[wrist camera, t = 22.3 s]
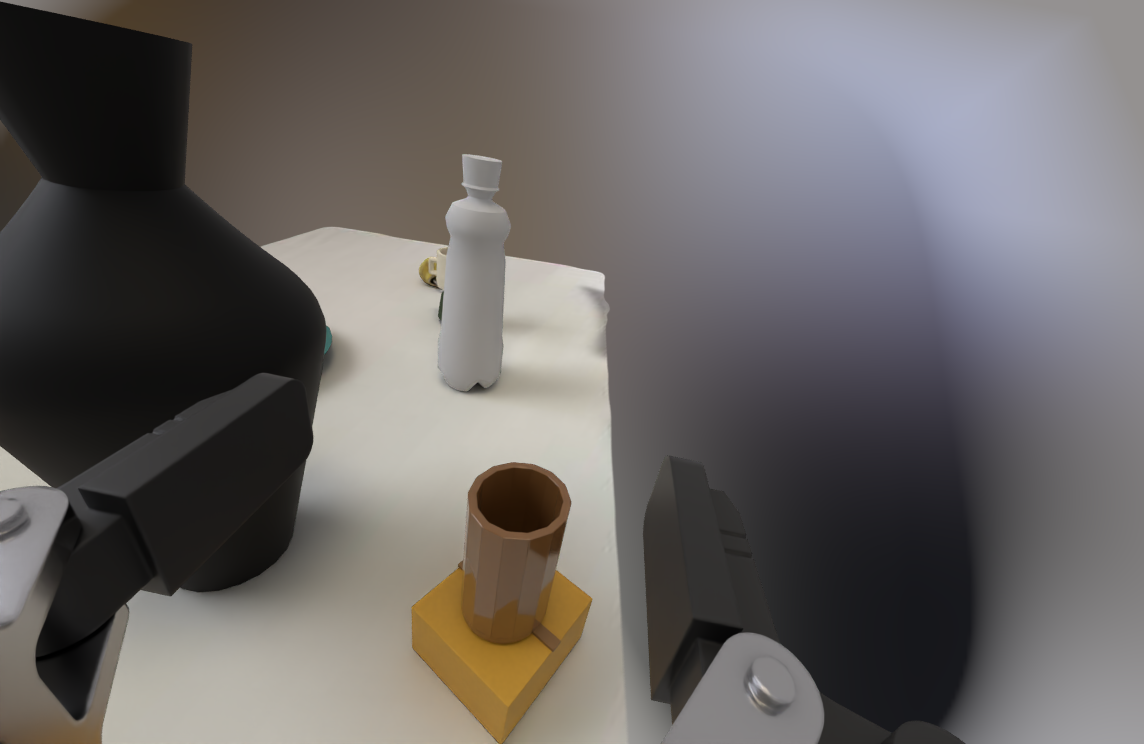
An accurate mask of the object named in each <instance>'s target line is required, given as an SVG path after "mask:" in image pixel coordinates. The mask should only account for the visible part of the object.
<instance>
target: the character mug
mask: <svg viewBox="0 0 1144 744" xmlns="http://www.w3.org/2000/svg"><path fill="white" fill-rule="evenodd" d="M447 251H448V247H444V248H440V249H438V250H437V258H436V257H429V273H430V274H431V275H435V276H437V277H436V281H437V284H438V287H439V288H440V289H442V290H444V282H445V269H446V255H447ZM434 263H437V271H436V270H434ZM443 296H444V291H443V292H442V294H441V300H440V306H439V313H438V317H439V319H440V320H441V321H442V309H443Z"/></svg>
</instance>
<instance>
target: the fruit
mask: <svg viewBox="0 0 1144 744" xmlns="http://www.w3.org/2000/svg"><path fill="white" fill-rule="evenodd" d="M434 270H436V271H437V263H434ZM419 274H420V277H421V278H422V280H423V281H424V282H426V283H428V284H430V285H432V286H436V287H438V284H437V281H436V277H437V276H435V275H431V274H430V273H429V258H427V259H425V260H424V262H423V263H422V264H421V265H420V267H419Z"/></svg>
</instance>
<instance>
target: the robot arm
mask: <svg viewBox="0 0 1144 744" xmlns="http://www.w3.org/2000/svg"><path fill="white" fill-rule="evenodd" d="M312 445H313V431H312V424H311V418H310V412H309V405H308V399H307V392H306V388H305V385H304V384H303V382H302V381H300V380H298V379H293V378H288V377H283V376H278V375H273V374H268V373H259V374H257V375H255V376H253V377H251V378H250V379H248V380H247V381H245V382H244V383H242V384H240V385H239V386H237V387H236V388H234V389H232V390H229V391H227V392H224V393H221V394H218V395H215V396H213V397H210V398H207V399H204V400H201V401H199V402H197V403H196V404H194V405H193V406H191V407H189V408H188V409H186V410H184V411H183V412H181V413H179V414H178V415H176V416H175V418H174V420H168V421H166V422H165V423H163V424H161V425H160V426H158V427H157V428H155V429H153V433H147V434H145V435H143V436H142V437H140V438H139V439H137V440H135V441H134V442H132V443H130V444H129V445H127V446H126V447H124V448H122V449H121V450H119V451H117V452H116V453H114V454H112V455H111V456H109V457H108V458H106V459H104V460H103V461H101V462H99V463H98V464H96V465H94V466H93V467H91V468H90V469H88V470H86V471H85V472H83V473H81V474H80V475H78V476H76V477H75V478H73V479H72V480H70V481H68V482H67V483H65V484H63V485H62V486H60V487H58V488H53V487H47V486H28V487H20V488H13V489H8V490H4V491H0V744H102V726H103V721H104V717H105V713H106V709H107V704H108V700H109V696H110V692H111V688H112V684H113V680H114V676H115V672H116V668H117V664H118V659H119V655H120V651H121V647H122V643H123V639H124V635H125V631H126V627H127V623H128V619H129V608H128V606H127V604H126V603H127V602H128V601H129V600H130V599H131V598H132V597H133V596H134V595H135V594H136V593H137V592H138V591H140V590H143V591H148V592H153V593H158V594H162V595H167V596H172V595H173V594H174V593H175V592H176V591H177V590H178V589H179V588H180V587H181V586H182V585H183V584H184V583H185V582H186V581H187V580H188V579H189V578H190V577H191V576H192V575H193V574H194V573H195V572H196V571H197V570H198V569H199V568H200V567H201V566H202V565H203V564H204V563H205V562H206V561H207V560H208V559H209V558H210V557H211V556H212V555H213V554H214V553H215V552H216V551H217V550H218V549H219V548H220V547H221V546H222V545H223V544H224V543H225V542H226V541H227V540H228V539H229V538H230V537H231V536H232V535H233V534H234V533H235V532H236V531H237V530H238V529H239V528H240V527H241V526H242V525H243V524H244V523H245V522H246V521H247V520H248V519H249V518H250V517H251V516H252V515H253V514H254V513H255V512H256V511H257V510H258V509H259V508H260V507H261V506H262V505H263V504H264V503H265V502H266V501H267V500H268V499H269V498H270V497H271V496H272V495H273V494H274V493H275V492H276V491H277V490H278V489H279V488H280V487H281V486H282V485H283V483H284V482H285V481H286V480H287V479H288V478H289V477H290V476H291V475H292V474H293V473H294V472H295V471H296V470H297V469H298V468H299V467H300V466H301V465H302V464H303V463H304V462H305V461H306V459H307V458H308V456H309V454H310V451H311V449H312ZM643 539H644V561H645V580H646V581H645V582H646V602H647V623H648V642H649V643H648V644H649V665H650V686H651V700H654V701H658V702H663V703H668V704H671V715H672V727H671V728H670V730H669V732H668V733H667V735H666V736H665V738H664V740H663V741H662V742H661V744H965V743H964V742H963V741H961V740H960V739H959V738H957V737H956V736H954V735H953V734H951V733H949V732H948V731H946V730H944V729H942V728H940V727H938V726H936V725H933V724H930V723H927V722H922V721H909V722H906V723H904V724H903V725H901V726H900V727H899V728H898V729H897V730H896V731H894V732H893V733H890V732H889V731H887V730H885V729H883V728H881V727H879V726H878V725H876V724H874V723H872V722H870V721H868V720H866V719H865V718H863V717H861V716H859V715H857V714H856V713H854V712H852V711H850V710H848V709H846V708H844V707H843V706H841V705H839V704H837V703H835V702H834V701H832V700H830V699H829V698H827V697H826V696H824V695H823V694H822V693H820V692H819V691H818V689H817V687H816V685H815V682H814V681H813V679H812V677H811V676H810V674H809V672H808V671H807V670H806V669H805V667H804V666H803V665H802V663H801V662H800V661H799V660H798V659H797V658H796V657H795V656H794V655H793V654H792V653H791V652H789V650H787V649H786V648H785V647H783V646H782V645H781V644H780V641H779V639H778V636H777V633H776V630H775V626H774V623H773V620H772V616H771V613H770V610H769V607H768V604H767V601H766V597H765V594H764V591H763V587H762V584H761V581H760V578H759V574H758V571H757V568H756V565H755V562H754V559H752V552H751V549H750V545H749V542H748V539H746V533H745V529H744V526H743V523H742V520H741V517H740V513H739V512H738V511H737V509H736V507H735V506H734V505H733V503H732V502H731V501H730V499H729V498H728V497H727V495H726V494H725V493H724V492H723V491H718V490H714V489H709V485H708V481H707V477H706V473H705V469H704V465H703V464H702V463H701V462H697V461H692V460H687V459H683V458H678V457H673V456H666V457H665V458H664V460H663V463H662V465H661V468H660V471H659V474H658V477H657V479H656V482H655V485H654V488H653V491H652V494H651V497H650V499H649V502H648V505H647V509H646V513H645V520H644V528H643Z"/></svg>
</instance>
